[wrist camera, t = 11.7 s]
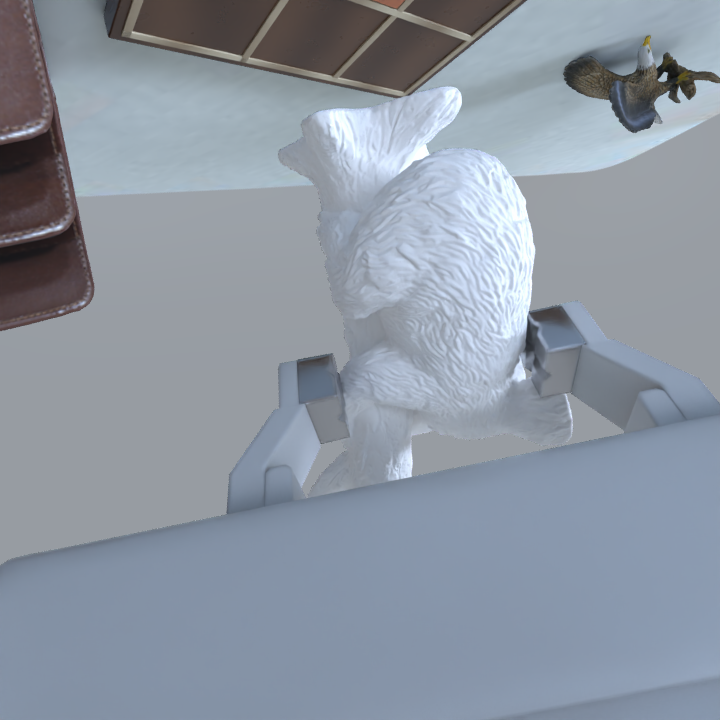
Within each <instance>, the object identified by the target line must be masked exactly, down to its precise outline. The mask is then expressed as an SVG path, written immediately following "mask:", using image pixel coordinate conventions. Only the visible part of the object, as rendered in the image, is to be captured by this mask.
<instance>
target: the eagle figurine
mask: <svg viewBox="0 0 720 720" xmlns="http://www.w3.org/2000/svg"><path fill="white" fill-rule="evenodd" d="M650 38H651V36H647V37H646V39H645V41H644V43H643V45H642V46H641V47H640V49H639V51H638V65H637V70H636V71H635V72H634V73H632V74H629V75H626V76H620V75H617V74H615V73H613V72H611V71H609V70H607V69H605V68H604V67H603V66H602V65H601V64H600V63H599V62H598V61H597V60H596V59H595V58H593V57H591V56H588V57H587V58H580V59H578V60H577V61H575V62H571V63H569V66H566V67H565V71H566V72H564V74H563V75H564V76H565V77H567V78H565V79H564V80H565V81H567V82H566V84H568V85H569V87H572V89H574V90H576V91H577V92H579V93H581V94H584V95H586V96H588V97H593V98H599V99H605V100H610V102H611V103H612V110H613V111H614V112H615V115H616V117H618V118H619V122H620V123H622V124H623V126H625V128H626V129H628V130H629V131H631V132H633V133H637V132H638V131H641V130H644V129H648V128H650V127H651V125H652V124H653V122H655V123H658V124H662V123H663V122H662V120H661V118H660V116H659V114H658V113H657V111H656V110H655V106H654V102H655V101H656V99H657V98H658V97H659V96H661V95H663V94H664V93H666V92H667V91H670V92H669V96H668V97H669V98H670V99H672V100H673V101H674V102H675V103H680V100H679V99H678V97H677V92H678V88H679V86H680V88H681V90H682V92H683V93H684V95H685V96H686V97H687V99H688V100H690V99H691V98H692V97H694V95H695V93H696V86H695V84H694V80H706V81H707V80H709V81H711V82H715V83H720V78H719V77H718V76H717V75H716V74H714V73H712V72H706V71H705V72H695V71H691V70H687V69H686V68H685V67H682V66H680V65H678V64H677V61H676V60H673V57H671V56H670V54H669V53H668V52H666V53H665V54H664V55H663V62H662V64H661V65H660V66H659V67H658V68H657V69H656V65H655V63H654V59H653V56H652V51H651V47H650ZM663 72H667V73H668V76H667V81H665V82H659V81H658V79H659V78H660V77H661V75H662V74H663Z"/></svg>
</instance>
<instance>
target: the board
mask: <svg viewBox="0 0 720 720" xmlns="http://www.w3.org/2000/svg"><path fill="white" fill-rule="evenodd" d="M526 1H527V0H108V1H107V4H106V8H105V12H104V19H105V24H106V29H107V34H108V37H109V38H112V39H117V40H122V41H127V42H131V43H136V44H141V45H146V46H150V47H155V48H160V49H165V50H169V51H174V52H179V53H184V54H188V55H193V56H198V57H203V58H207V59H212V60H217V61H222V62H226V63H231V64H236V65H241V66H245V67H250V68H255V69H260V70H264V71H269V72H274V73H279V74H283V75H288V76H293V77H298V78H303V79H307V80H312V81H317V82H322V83H326V84H331V85H336V86H341V87H345V88H350V89H355V90H360V91H364V92H369V93H374V94H379V95H383V96H388V97H393V98H401V97H405V96H410V95H411V94H412V93H413V92H415V91H416V90H417V89H418V88H420V87H421V86H422V85H423V84H425V83H426V82H427V81H428V80H429V79H431V78H432V77H433V76H434V75H436V74H437V73H438V72H439V71H441V70H442V69H443V68H444V67H445V66H447V65H448V64H449V63H450V62H452V61H453V60H454V59H455V58H457V57H458V56H459V55H460V54H462V53H463V52H464V51H465V50H466V49H468V48H469V47H470V46H471V45H473V44H474V43H475V42H476V41H478V40H479V39H480V38H481V37H482V36H484V35H485V34H486V33H487V32H489V31H490V30H491V29H492V28H494V27H495V26H496V25H497V24H498V23H500V22H501V21H502V20H503V19H505V18H506V17H507V16H508V15H510V14H511V13H512V12H513V11H514V10H516V9H517V8H518V7H519V6H521V5H522V4H523V3H524V2H526Z"/></svg>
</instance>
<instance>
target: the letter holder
mask: <svg viewBox="0 0 720 720" xmlns="http://www.w3.org/2000/svg"><path fill="white" fill-rule="evenodd" d="M93 295H94V282H93V278H92V272H91V267H90V263H89V260H88V255H87V250H86V245H85V241H84V236H83V231H82V226H81V221H80V216H79V210H78V206H77V202H76V197H75V191H74V187H73V181H72V177H71V172H70V167H69V162H68V157H67V152H66V147H65V142H64V138H63V132H62V128H61V124H60V118H59V112H58V107H57V103H56V97H55V94H54V91H53V87H52V84H51V80H50V75H49V71H48V66H47V61H46V57H45V52H44V48H43V44H42V39H41V34H40V31H39V27H38V23H37V19H36V15H35V10H34V6H33V2H32V0H0V331H2V330H7V329H12V328H16V327H20V326H24V325H29V324H32V323H36V322H40V321H44V320H47V319H51V318H56V317H60V316H63V315H66V314H69V313H71V312H76V311H80V310H81V309H83V308H84V307H86V306H87V305H88V304H89V303H90V302H91V300H92V298H93Z"/></svg>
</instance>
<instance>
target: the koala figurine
mask: <svg viewBox="0 0 720 720" xmlns="http://www.w3.org/2000/svg"><path fill="white" fill-rule="evenodd" d="M461 97H462V95H461V93H460V92H459V91H458V89H457V88H455V87H450V86H448V87H439V88H434V89H429V90H426V91H421V92H418V93H414V94H411V95H410V96H405V97H401V98H396V99H394V100H392V101H389V102H385V103H382V104H379V105H377V106H374V107H368V108H362V109H348V108H347V109H346V108H342V109H341V108H335V109H329V110H322V111H317V112H315V113H313V114H312V115H309V116H308V117H307V118H305V119H304V120H303V121H302V123H301V128H302V131H303V135H304V136H303V137H301V138H300V139H298V140H297V141H296V142H294V143H292V144H289V145H288V146H286V147H285V148H283V149H280V150H279V153H278V158H279V161H280V162H281V163H282V165H284V166H287V167H289V168H290V169H292V170H294V171H296V172H298V173H299V174H301V175H303V176H305V177H307V178H308V179H309V180H310V181H311V182H312V183H313V184H314V185H315V186H316V188H317V190H318V194H319V199H320V203H321V209H322V212H320V213H319V215H318V220H319V221H320V222H321V224H320V226H318V227H317V230H316V234H317V236H318V238H319V241H320V245H321V248H322V251H323V253H324V254H325V255H326V257H327V260H326V262H325V268H326V270H327V274H328V281H329V283H330V290H331V294H332V300H333V302H334V304H335V305H336V307H337V308H338V309H339V311H340V312H341V314H342V315H343V320H344V327H345V330H344V338H345V341H346V343H347V345H348V347H349V352H350V360H349V361H348V362H347V363H346V365H345V366H344V367H343V370H342V371H341V372H340V374H339V375H340V378H341V384H342V388H343V393H344V398H345V403H346V406H345V410H346V414H347V417H348V424H349V431H350V437H349V438H345V439H341V442H342V443H343V446H344V448H346V449H347V451H344V452H343V453H341V454H340V455H339V456H338V457H337V458H336V459H335V461H334V462H333V463H332V464H330V465H329V466H328V467H327V468H326V469H325V470H324V471H323V472H322V474H321V475H320V476H319V478H318V479H317V481H316V482H315V484H314V485H313V486H312V488H311V490H310V493H309V494H308V498H310V497H315V496H320V495H324V494H329V493H334V492H339V491H344V490H349V489H354V488H359V487H364V486H369V485H374V484H378V483H383V482H388V481H393V480H398V479H403V478H408V477H412V474H411V471H412V466H413V461H412V451H411V440H412V437H411V436H413V435H419V434H424V433H427V432H431V431H435V432H438V433H439V434H440V435H447V436H451V435H453V436H454V438H455V439H457V438H461V439H462V438H463V439H468V440H472V439H481V438H483V439H485V438H486V437H490V436H497V435H500V434H513V435H515V436H518V437H521V438H522V439H527V440H528V441H531V442H534V443H537V444H539V445H542V446H547V445H562V444H565V443H566V442H567V441H568V440H569V439H570V438H571V435H572V430H573V426H572V424H573V419H572V415H571V409H570V407H569V406H570V403H569V402H568V401H567V395H566V394H560V395H554V396H549V397H543V398H540V396H539V394H538V392H537V390H536V388H535V386H534V385H533V383H532V381H531V377H530V378H528V379H526V375H525V372H524V368H523V366H522V360H521V357H520V354H521V353H522V352H523V351H524V349H525V346H526V342H525V340H526V332H527V316H528V312H529V307H530V303H531V293H532V290H531V288H532V280H531V275H532V268H533V262H534V255H535V246H534V244H533V235H532V230H531V225H530V222H529V220H528V215H527V212H526V207H525V205H526V201H525V198H524V197H523V196H522V193H521V191H520V190H519V187H518V186H517V184H516V182H515V181H514V179H513V178H512V177H511V176H510V175H509V173H508V172H507V171H506V168H505V167H504V166H503V165H502V164H501V163H500V162H499V160H498V159H497V158H496V157H494V156H490V155H489V154H487V153H484V152H483V151H479V150H477V149H463V148H450V149H444V150H440V151H437V152H434V153H432V154H429V153H428V150H427V147H426V145H425V144H426V143H428V142H429V141H430V140H431V139H432V138H433V137H434V136H435V135H436V133H437V132H439V131H440V130H441V129H443V128H444V127H445V126H447V125H449V123H451V122H452V121H453V120H454V118H455V117H456V115H457V113H458V111H459V109H460V107H461V104H462V98H461Z"/></svg>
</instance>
